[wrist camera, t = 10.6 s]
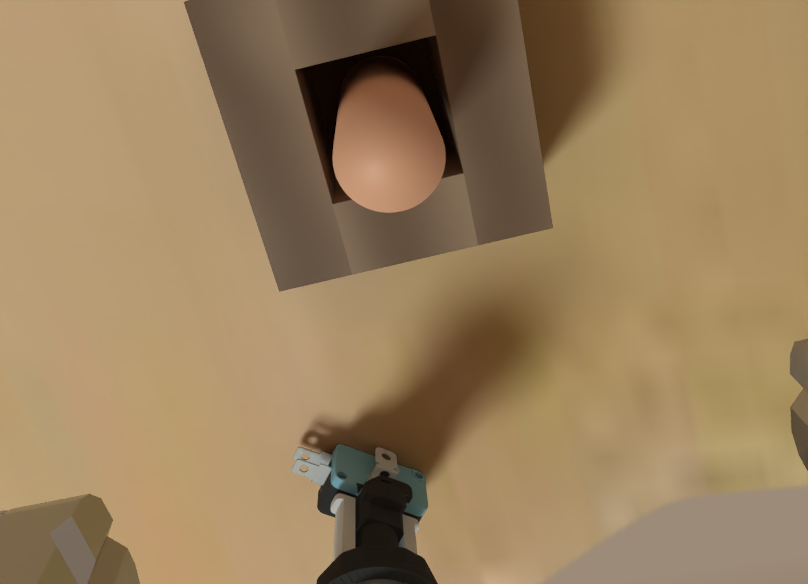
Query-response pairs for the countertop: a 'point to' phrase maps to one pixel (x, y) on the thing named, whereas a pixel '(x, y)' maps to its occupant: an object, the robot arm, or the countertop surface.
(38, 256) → the countertop surface
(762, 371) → the countertop surface
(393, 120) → the dowel
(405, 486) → the push button
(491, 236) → the socket block
